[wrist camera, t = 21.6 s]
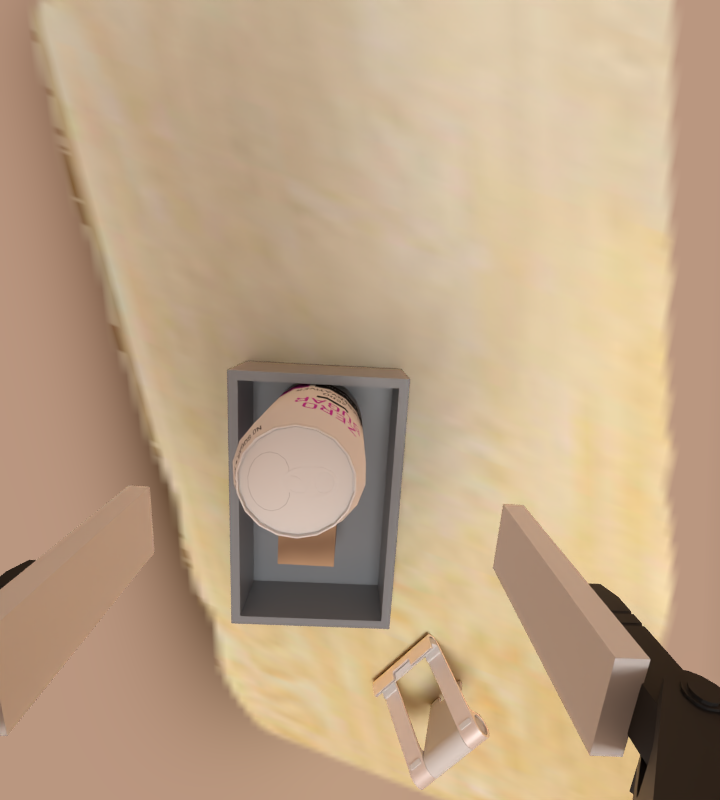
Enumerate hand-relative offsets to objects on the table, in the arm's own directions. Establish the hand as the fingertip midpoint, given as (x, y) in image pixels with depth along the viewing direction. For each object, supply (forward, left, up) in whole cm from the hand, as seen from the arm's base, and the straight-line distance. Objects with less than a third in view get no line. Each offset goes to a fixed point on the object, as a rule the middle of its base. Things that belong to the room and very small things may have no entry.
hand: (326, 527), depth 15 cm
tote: (+9, -2, -24) cm, 26 cm away
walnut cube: (+12, -3, -23) cm, 26 cm away
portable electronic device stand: (+32, +11, -24) cm, 41 cm away
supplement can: (+2, -2, -23) cm, 23 cm away
